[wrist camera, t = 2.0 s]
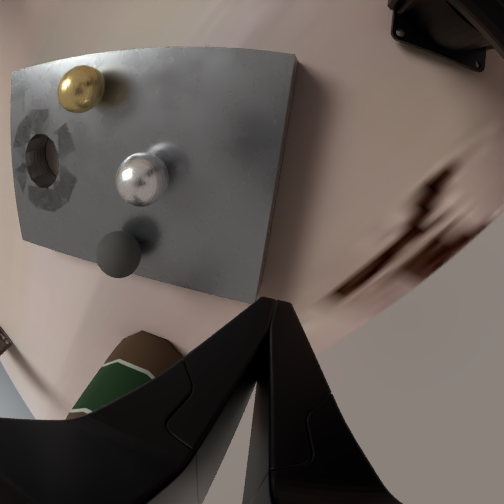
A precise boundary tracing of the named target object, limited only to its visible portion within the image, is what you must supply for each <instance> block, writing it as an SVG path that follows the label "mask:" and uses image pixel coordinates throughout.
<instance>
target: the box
mask: <svg viewBox="0 0 504 504" xmlns="http://www.w3.org/2000/svg"><path fill="white" fill-rule="evenodd" d="M11 345H12V342H11V341H10V339H9V338H8V337H7V335H6V334H5V333H4V331H3V330H2V329H1V328H0V355H1V354H3V353H4V352H5V351H6V350H7V349H8V348H9V347H10V346H11Z"/></svg>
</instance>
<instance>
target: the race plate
mask: <svg viewBox="0 0 504 504" xmlns="http://www.w3.org/2000/svg"><path fill="white" fill-rule="evenodd" d="M297 64H298V60H297V58H296V56H295V54H288V53H280V52H272V51H263V50H253V49H240V48H223V47H159V48H142V49H130V50H120V51H111V52H103V53H96V54H90V55H83V56H78V57H72V58H67V59H62V60H57V61H52V62H48V63H44V64H39V65H35V66H32V67H28V68H24V69H20V70H17V71H14V72H12V86H11V153H12V167H13V178H14V187H15V196H16V203H17V210H18V216H19V222H20V228H21V233H22V238H23V240H25V241H28V242H31V243H34V244H37V245H40V246H43V247H46V248H49V249H52V250H55V251H59V252H62V253H65V254H68V255H71V256H75V257H78V258H81V259H84V260H88V261H91V262H94V263H98V262H97V258H96V250H97V247H98V244H99V242H100V241H101V239H102V238H103V237H104V236H105V235H107V234H108V233H110V232H113V231H124V232H127V233H129V234H131V235H132V236H133V237H134V238H135V239H136V240H137V241H138V243H139V245H140V249H141V260H140V263H139V266H138V267H137V269H136V270H135V271H134V272H133V273H132V274H136V275H139V276H143V277H147V278H150V279H154V280H158V281H162V282H165V283H169V284H173V285H177V286H181V287H184V288H188V289H192V290H196V291H200V292H204V293H208V294H212V295H216V296H220V297H225V298H229V299H233V300H237V301H241V302H246V303H250V304H253V303H254V302H255V301H256V298H257V295H258V292H259V289H260V286H261V282H262V276H263V270H264V265H265V259H266V253H267V247H268V242H269V236H270V230H271V224H272V218H273V213H274V207H275V201H276V195H277V189H278V183H279V177H280V171H281V165H282V159H283V153H284V146H285V140H286V134H287V128H288V122H289V115H290V109H291V103H292V96H293V90H294V83H295V77H296V70H297ZM79 65H90V66H93V67H95V68H97V69H98V70H99V71H100V72H101V73H102V75H103V77H104V80H105V92H104V95H103V97H102V99H101V101H100V102H99V103H98V104H97V105H96V106H95V107H94V108H93V109H91V110H89V111H87V112H84V113H71V112H69V111H67V110H65V109H64V108H63V107H62V106H61V105H60V103H59V101H58V98H57V88H58V84H59V82H60V80H61V78H62V77H63V75H64V74H65V73H66V72H67V71H69V70H70V69H72V68H73V67H76V66H79ZM48 137H49V138H50V139H51V140H52V141H53V142H54V145H55V148H56V150H57V153H58V156H59V172H58V175H57V177H56V176H55V175H54V174H53V173H51V172H50V170H49V167H48V165H47V163H46V160H45V145H46V142H47V139H48ZM141 152H144V153H150V154H153V155H155V156H157V157H158V158H160V159H161V160H162V161H163V162H164V164H165V166H166V168H167V170H168V175H169V182H168V187H167V189H166V192H165V193H164V195H163V196H162V197H161V198H160V199H159V200H158V201H157V202H155V203H154V204H152V205H149V206H145V207H137V206H133V205H130V204H128V203H127V202H125V201H124V200H123V199H122V198H121V197H120V195H119V193H118V191H117V188H116V183H115V178H116V173H117V170H118V168H119V166H120V165H121V163H122V162H123V161H124V160H125V159H126V158H127V157H129V156H131V155H133V154H136V153H141Z"/></svg>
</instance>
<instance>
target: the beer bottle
mask: <svg viewBox="0 0 504 504" xmlns="http://www.w3.org/2000/svg"><path fill="white" fill-rule="evenodd" d="M180 359H182V360H183V357H182V356H181V355H180V354H179V352H178V351H177V350H176V349H175V348H174V347H173V346H172V345H171V344H170V343H169V342H168V340H166V339H163V338H160V337H158V336H155V335H152V334H149V333H147V332H144V331H140V332H138V333H136V334H133V335H131V336H129V337H126V338H124V339H123V340H122V341H121V342H120V343H119V345H118V346H117V347H116V348H115V349H114V351H113V352H112V353H111V355H110V356H109V357H108V359H107V360H106V362H105V363H104V364H103V366H102V367H101V368H100V370H99V371H98V373H97V374H96V375H95V377H94V378H93V380H92V381H91V382H90V384H89V385H88V387H87V388H86V389H85V391H84V392H83V394H82V395H81V397H80V398H79V399H78V401H77V402H76V404H75V405H74V407H73V408H72V410H71V411H70V413H69V414H68V416H67V418H66V420H67V419H72V418H77V417H80V416H83V415H86V414H88V413H90V412H92V411H94V410H96V409H98V408H100V407H102V406H104V405H106V404H108V403H110V402H112V401H114V400H116V399H118V398H120V397H121V396H123V395H125V394H127V393H129V392H131V391H133V390H135V389H136V388H138V387H140V386H141V385H143V384H145V383H147V382H148V381H150V380H152V379H153V378H155V377H156V376H158V375H159V374H161V373H162V372H164V371H165V370H167V369H168V368H170V367H171V366H172V365H174V364H175V363H176V362H178V361H179V360H180Z"/></svg>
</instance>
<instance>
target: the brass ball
mask: <svg viewBox="0 0 504 504" xmlns="http://www.w3.org/2000/svg"><path fill="white" fill-rule="evenodd" d="M104 92H105V80H104V77H103V75H102V73H101V72H100V71H99V70H98V69H97V68H95V67H93V66H90V65H79V66H76V67H73V68H72V69H70V70H69V71H67V72H66V73H65V74H64V75H63V77H62V78H61V80H60V82H59V84H58V88H57V98H58V101H59V103H60V105H61V106H62V107H63V108H64V109H65V110H67V111H69V112H71V113H84V112H87V111H89V110H91V109H93V108H94V107H95V106H96V105H97V104H98V103H99V102H100V101H101V99H102V97H103V95H104Z"/></svg>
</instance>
